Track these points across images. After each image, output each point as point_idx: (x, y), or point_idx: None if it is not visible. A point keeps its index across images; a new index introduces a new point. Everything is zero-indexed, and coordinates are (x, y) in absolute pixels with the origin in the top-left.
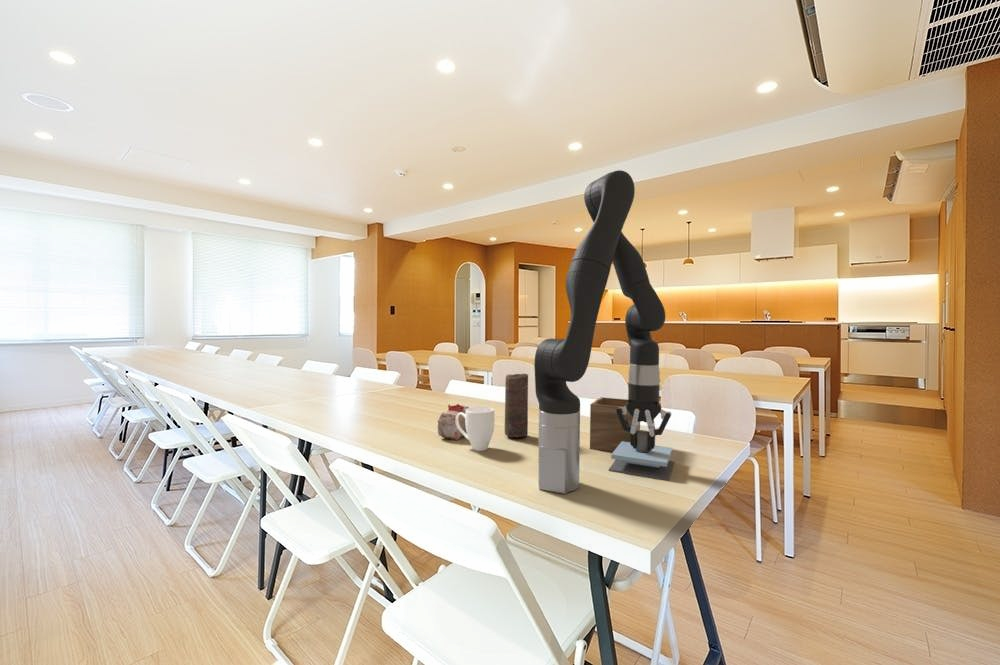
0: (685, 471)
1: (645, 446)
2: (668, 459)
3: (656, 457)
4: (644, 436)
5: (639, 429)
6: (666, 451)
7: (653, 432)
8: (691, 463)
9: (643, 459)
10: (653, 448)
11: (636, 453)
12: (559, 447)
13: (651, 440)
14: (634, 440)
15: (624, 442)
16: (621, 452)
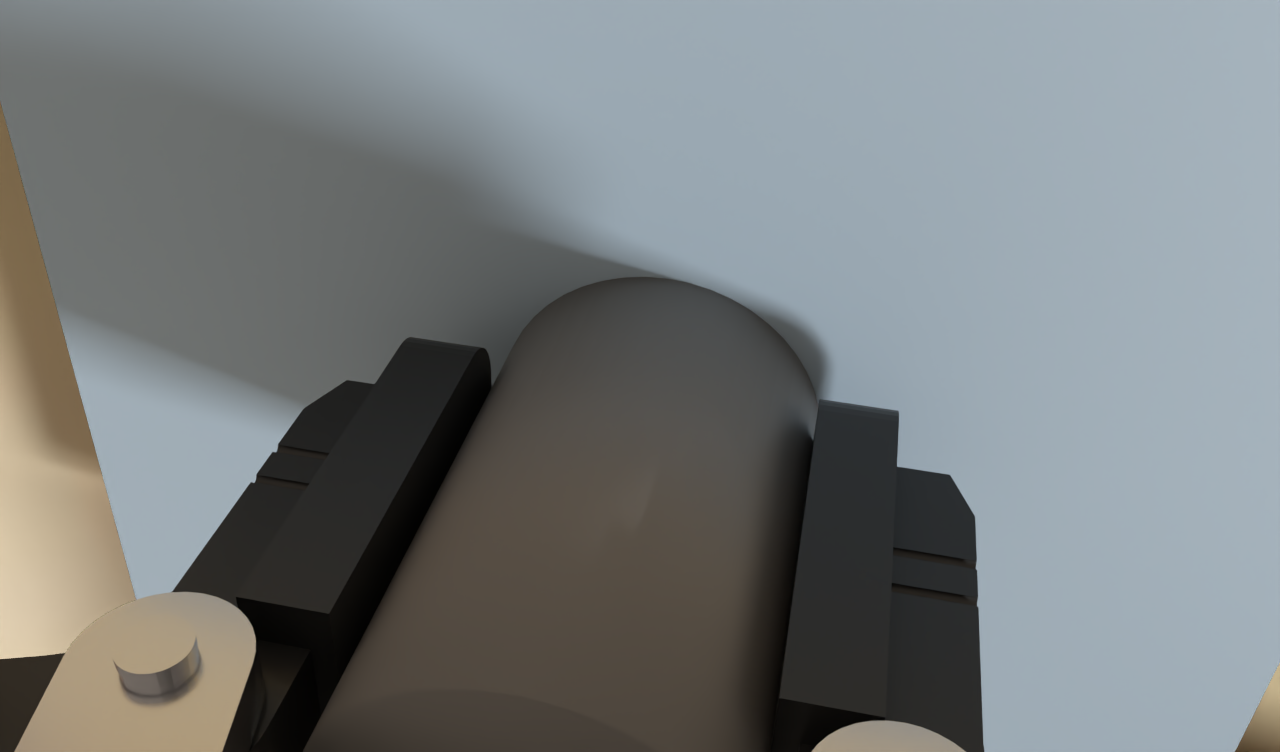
0: (12, 220)
1: (525, 392)
2: (18, 68)
3: (247, 19)
4: (459, 602)
5: None
6: (189, 516)
7: (67, 711)
8: (63, 567)
9: None
10: (341, 388)
11: (794, 183)
12: None
13: (302, 538)
14: (842, 548)
15: None
16: (1262, 124)
